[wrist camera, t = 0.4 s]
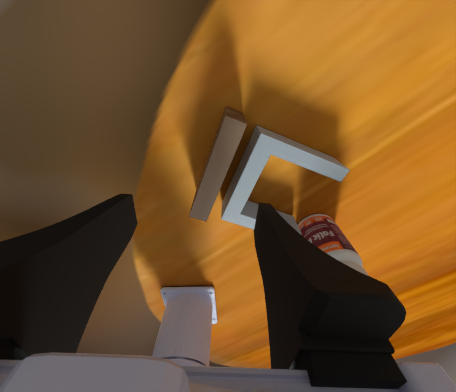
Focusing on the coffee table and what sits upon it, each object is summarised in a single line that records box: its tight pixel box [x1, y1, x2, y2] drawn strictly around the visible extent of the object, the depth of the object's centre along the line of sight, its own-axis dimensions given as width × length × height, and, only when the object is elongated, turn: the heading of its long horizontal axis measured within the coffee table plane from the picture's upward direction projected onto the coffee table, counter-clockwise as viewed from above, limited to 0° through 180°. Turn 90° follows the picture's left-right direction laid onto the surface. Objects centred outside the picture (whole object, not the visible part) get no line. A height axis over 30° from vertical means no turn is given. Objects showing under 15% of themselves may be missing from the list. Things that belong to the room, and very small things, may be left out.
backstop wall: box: [189, 107, 247, 222], centre depth 18 cm, size 2×9×5 cm, turn 159°
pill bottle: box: [298, 214, 369, 276], centre depth 21 cm, size 5×5×8 cm
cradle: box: [221, 125, 349, 235], centre depth 20 cm, size 8×9×3 cm
